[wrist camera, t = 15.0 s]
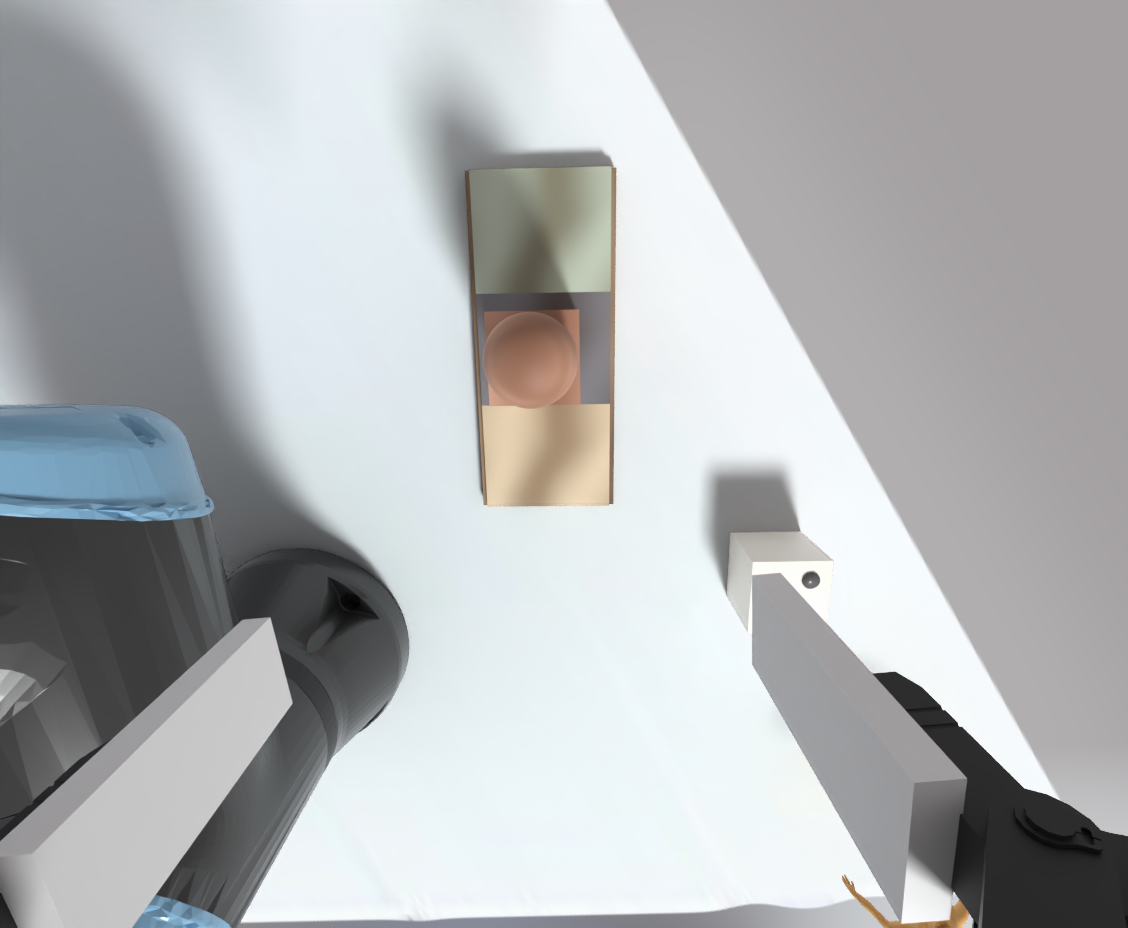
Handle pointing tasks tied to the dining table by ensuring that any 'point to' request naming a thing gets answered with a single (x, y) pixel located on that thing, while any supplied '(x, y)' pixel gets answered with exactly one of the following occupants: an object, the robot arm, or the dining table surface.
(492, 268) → the board
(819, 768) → the robot arm
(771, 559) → the die
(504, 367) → the pawn
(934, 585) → the dining table surface
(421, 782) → the dining table surface
